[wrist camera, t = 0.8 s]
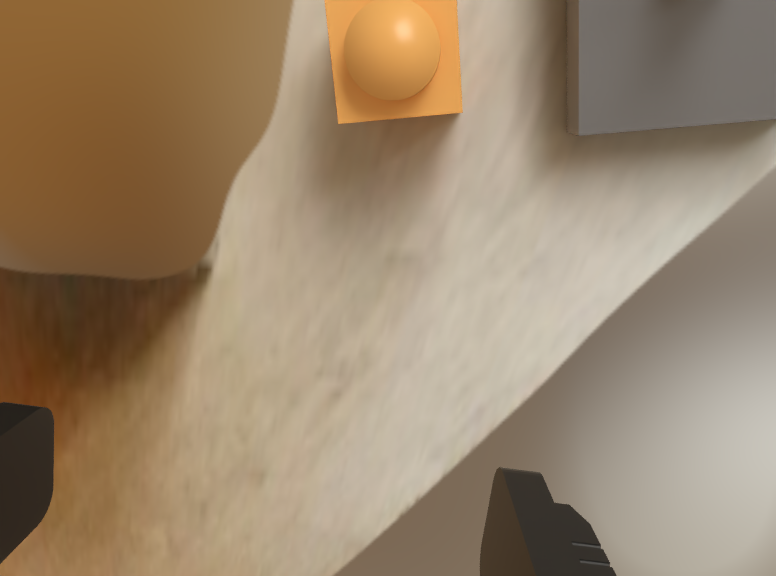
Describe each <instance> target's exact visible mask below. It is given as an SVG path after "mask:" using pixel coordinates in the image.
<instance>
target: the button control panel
mask: <svg viewBox="0 0 776 576" xmlns="http://www.w3.org/2000/svg"><path fill="white" fill-rule="evenodd" d="M566 21H567V132H569V133H572V134H575V135H578V136H582V135H594V134H606V133H618V132H629V131H641V130H653V129H665V128H677V127H689V126H700V125H712V124H724V123H736V122H748V121H760V120H772V119H776V0H566Z"/></svg>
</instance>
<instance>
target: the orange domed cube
mask: <svg viewBox="0 0 776 576" xmlns="http://www.w3.org/2000/svg"><path fill="white" fill-rule="evenodd" d="M325 8H326V17H327V26H328V35H329V44H330V53H331V62H332V71H333V80H334V89H335V98H336V107H337V116H338V124H343V123H354V122H365V121H376V120H387V119H398V118H408V117H419V116H430V115H441V114H452V113H463V112H462V93H461V74H460V56H459V37H458V18H457V0H325Z"/></svg>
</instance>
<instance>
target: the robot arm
mask: <svg viewBox="0 0 776 576" xmlns="http://www.w3.org/2000/svg"><path fill="white" fill-rule="evenodd" d="M53 468H54V419H53V415H52V412H51V411H50V410H49V409H48V408H45V407H37V406H30V405H22V404H14V403H6V402H3V403H0V564H1V563H2V561H3V560H4V559H5V558H6V557H7V556H8V555H9V554H10V553H11V552H12V551H13V550H14V549H15V548H16V547H17V546H18V545H19V544H20V543H21V542H22V541H23V540H24V539H25V538H26V537H27V536H28V535H29V534H30V533H31V532H32V531H33V530H34V529H35V528H36V527H37V526H38V524H39V523H40V522H41V521H42V519H43V517H44V516H45V514H46V512H47V510H48V507H49V505H50V502H51V498H52V493H53ZM480 576H616V574H615V572H614V570H613V568H612V567H610V562H609V560H608V558H607V556H606V554H605V553H604V550H603V549H601V545H600V543H599V541H598V539H597V537H596V535H595V533H594V531H593V529H592V527H591V525H590V524H589V523H588V522H587V521H586V520H585V519H584V518H583V517H582V516H581V515H580V514H578V513H577V512H576V511H575V510H574V509H573V508H572V507H571V506H570V505H567V504H559V503H554V501H553V499H552V497H551V494H550V492H549V490H548V487H547V485H546V483H545V481H544V478H543V476H542V474H541V473H539V472H532V471H524V470H516V469H509V468H500V467H499V468H498V469H497V471H496V473H495V476H494V480H493V486H492V491H491V496H490V502H489V507H488V513H487V518H486V523H485V528H484V534H483V539H482V545H481V554H480Z"/></svg>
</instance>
